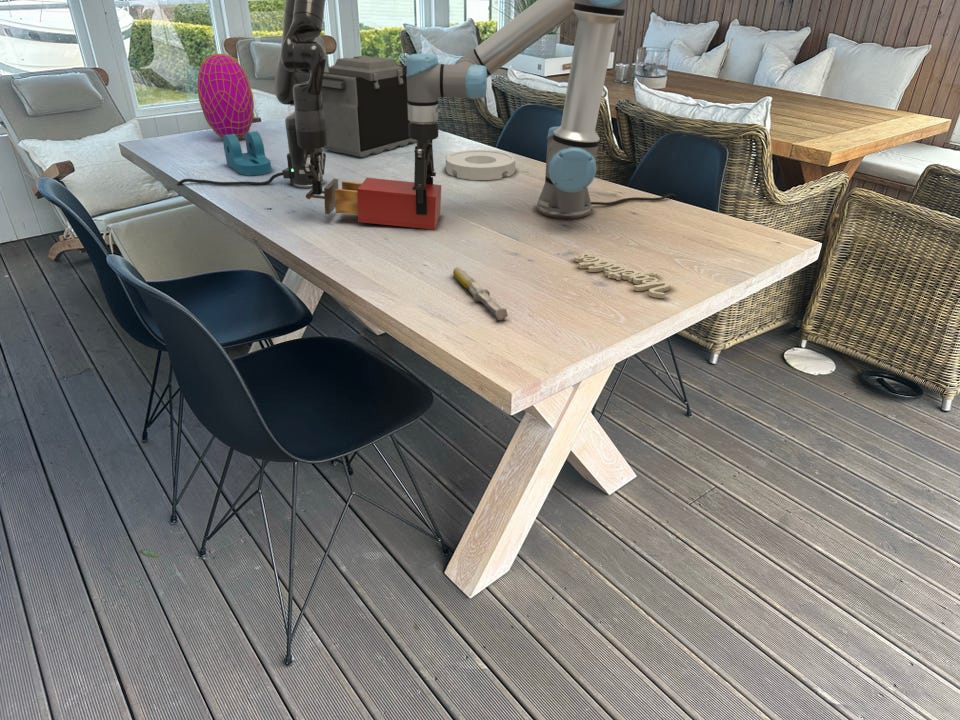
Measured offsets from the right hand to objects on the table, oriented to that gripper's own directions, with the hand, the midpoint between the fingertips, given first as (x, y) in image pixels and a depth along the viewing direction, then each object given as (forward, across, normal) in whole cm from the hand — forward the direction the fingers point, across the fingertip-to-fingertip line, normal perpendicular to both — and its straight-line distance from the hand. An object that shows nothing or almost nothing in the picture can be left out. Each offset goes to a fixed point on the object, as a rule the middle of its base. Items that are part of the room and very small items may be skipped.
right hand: (425, 207), depth 183 cm
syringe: (+4, -45, -18) cm, 49 cm away
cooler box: (+4, +82, +33) cm, 89 cm away
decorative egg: (+5, +86, +89) cm, 124 cm away
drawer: (+2, 0, +19) cm, 19 cm away
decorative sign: (+4, -30, -50) cm, 59 cm away
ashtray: (+4, +53, -10) cm, 54 cm away
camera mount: (+5, +46, +66) cm, 81 cm away
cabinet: (+4, 0, +7) cm, 8 cm away
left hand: (-2, 0, +29) cm, 29 cm away
